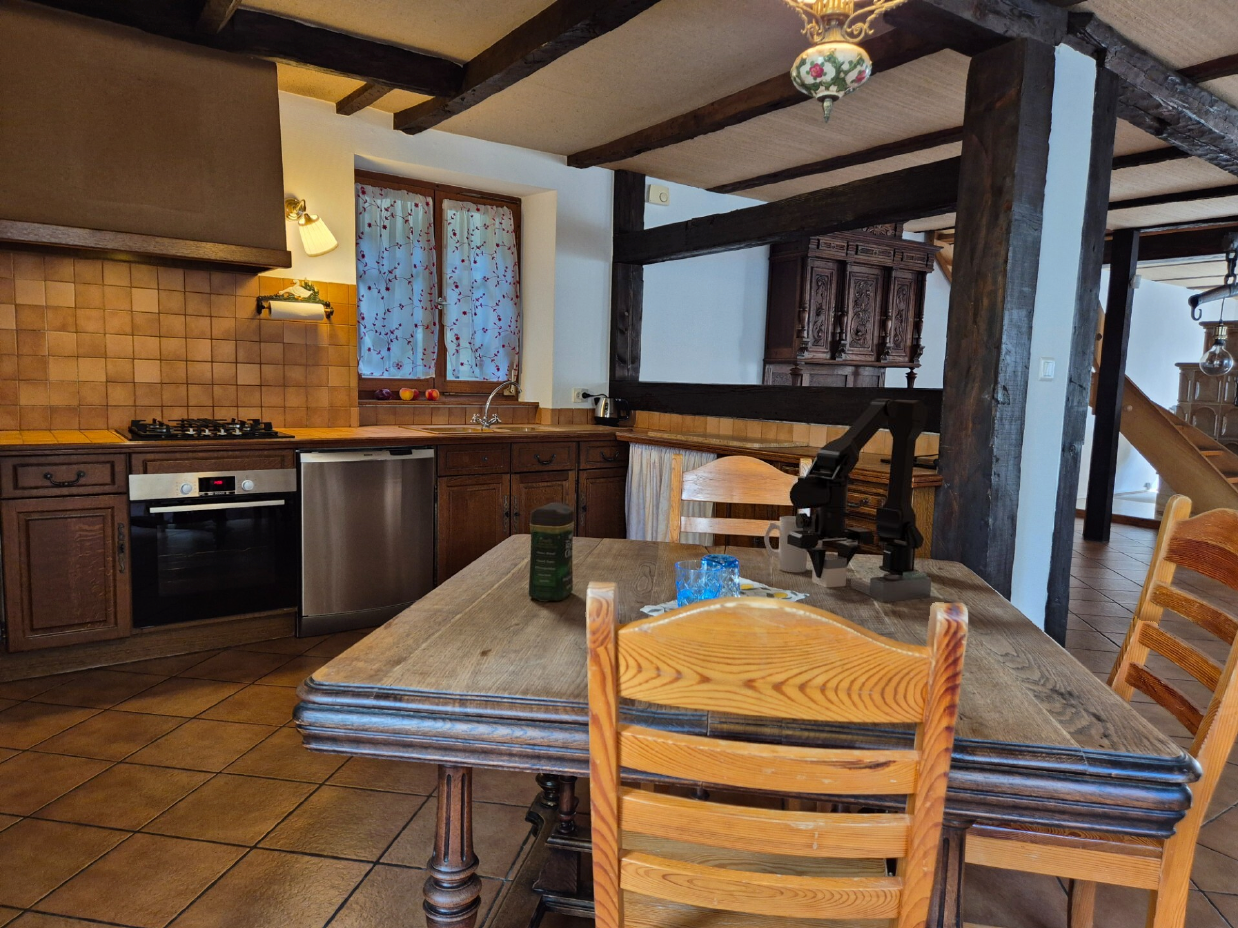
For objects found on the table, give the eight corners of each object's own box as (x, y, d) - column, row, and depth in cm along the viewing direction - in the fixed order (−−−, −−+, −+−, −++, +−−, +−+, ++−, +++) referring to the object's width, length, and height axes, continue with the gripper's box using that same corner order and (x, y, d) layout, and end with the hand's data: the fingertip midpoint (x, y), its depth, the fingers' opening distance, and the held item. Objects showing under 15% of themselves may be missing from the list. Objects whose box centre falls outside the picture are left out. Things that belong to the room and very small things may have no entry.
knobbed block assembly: (847, 587, 163) (849, 565, 162) (893, 583, 167) (894, 561, 166) (882, 602, 152) (883, 578, 152) (930, 597, 156) (931, 574, 156)
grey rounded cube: (831, 579, 169) (832, 553, 168) (845, 585, 164) (846, 558, 163) (812, 581, 167) (813, 554, 166) (825, 587, 162) (827, 559, 162)
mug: (806, 567, 180) (809, 516, 179) (807, 573, 174) (810, 522, 172) (763, 564, 182) (765, 514, 181) (762, 570, 176) (764, 519, 174)
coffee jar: (561, 604, 146) (562, 509, 144) (523, 600, 149) (524, 506, 146) (578, 591, 156) (579, 501, 154) (541, 587, 158) (542, 499, 156)
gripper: (845, 498, 174) (841, 565, 176) (774, 501, 168) (771, 570, 170) (877, 506, 164) (873, 577, 166) (803, 509, 158) (800, 583, 159)
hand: (829, 576), depth 165 cm, fingers closed on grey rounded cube, 5 cm apart
